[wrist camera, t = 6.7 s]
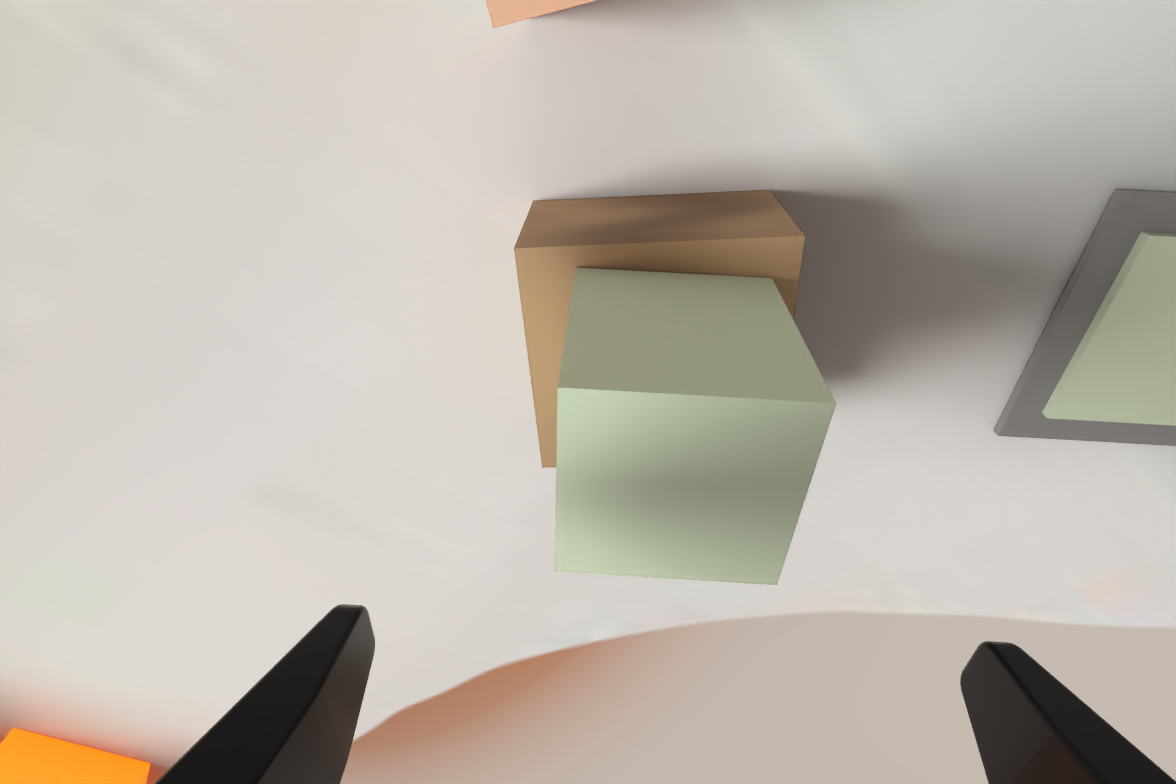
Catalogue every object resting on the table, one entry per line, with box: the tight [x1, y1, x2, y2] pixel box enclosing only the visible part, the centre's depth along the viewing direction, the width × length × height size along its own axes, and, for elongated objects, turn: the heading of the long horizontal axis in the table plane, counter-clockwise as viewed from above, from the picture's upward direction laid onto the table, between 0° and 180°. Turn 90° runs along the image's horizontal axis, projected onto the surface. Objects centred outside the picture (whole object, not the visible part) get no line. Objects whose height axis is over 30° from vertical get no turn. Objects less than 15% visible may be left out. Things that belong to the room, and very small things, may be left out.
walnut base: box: [514, 190, 805, 468], centre depth 17 cm, size 6×6×4 cm
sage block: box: [555, 268, 836, 585], centre depth 13 cm, size 4×4×5 cm
